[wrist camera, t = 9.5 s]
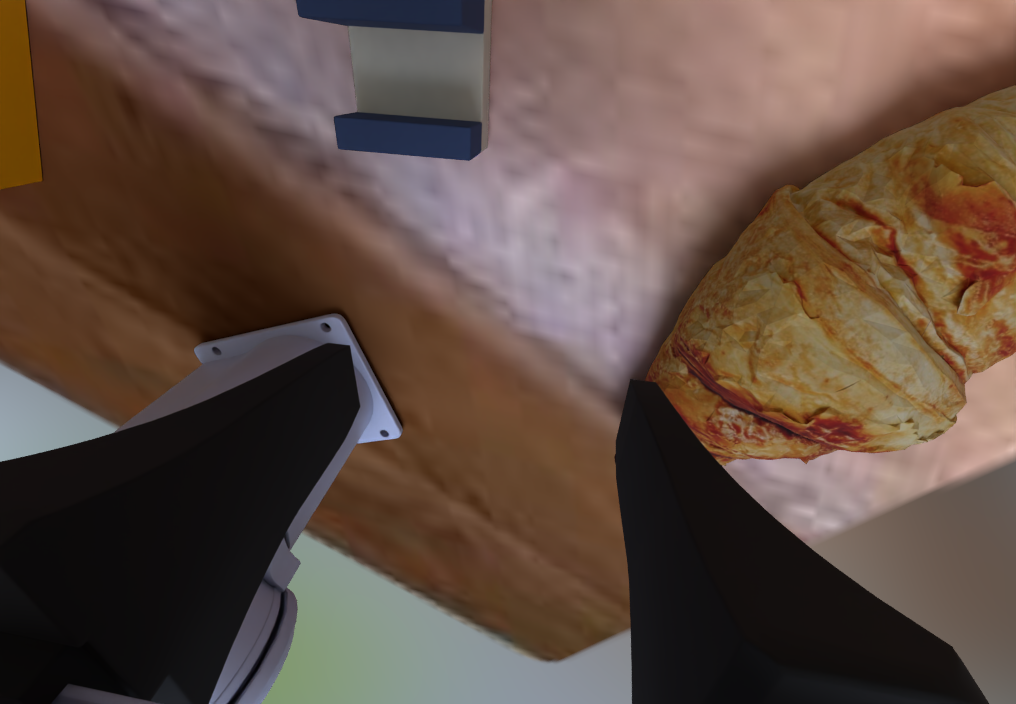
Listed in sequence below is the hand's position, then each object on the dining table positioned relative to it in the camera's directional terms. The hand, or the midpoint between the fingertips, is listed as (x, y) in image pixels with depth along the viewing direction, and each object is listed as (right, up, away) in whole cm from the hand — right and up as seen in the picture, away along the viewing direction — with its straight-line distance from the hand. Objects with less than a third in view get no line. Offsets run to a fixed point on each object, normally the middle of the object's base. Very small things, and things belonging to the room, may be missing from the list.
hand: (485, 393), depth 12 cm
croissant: (+13, +3, +7) cm, 15 cm away
